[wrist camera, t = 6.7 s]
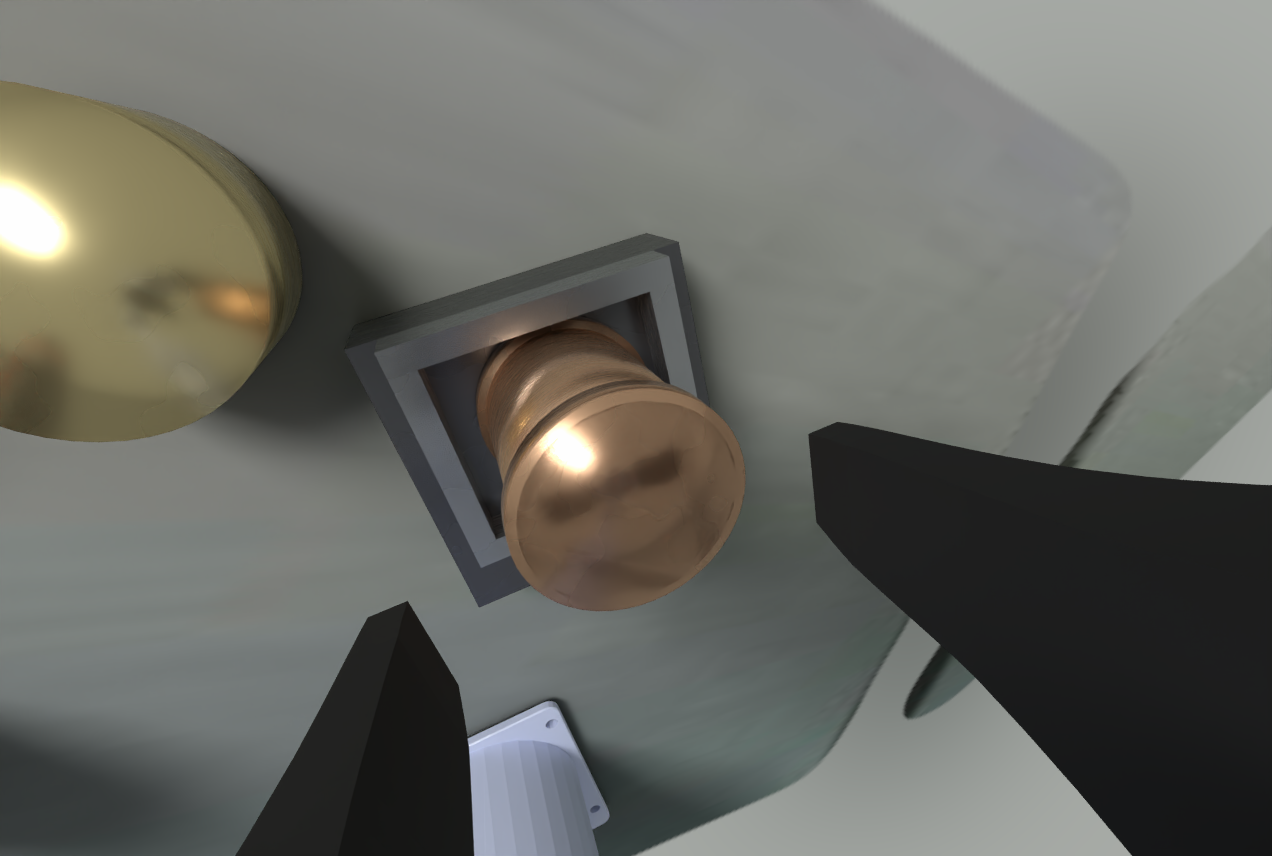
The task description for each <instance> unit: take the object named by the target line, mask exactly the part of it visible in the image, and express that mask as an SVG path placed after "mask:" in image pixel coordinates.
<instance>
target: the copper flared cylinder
mask: <svg viewBox="0 0 1272 856" xmlns="http://www.w3.org/2000/svg"><path fill="white" fill-rule="evenodd" d="M476 411H477V418H478V422H479V426H480V430H481V433H482V437H483V439H484V441H485V443H486V446H487V447H488V449H489V450H490V452H491V453H492V455H493V456H494V457H495V458H496V460H497V463H498V467H499V471H500V474H501V478H502V482H503V489H502V495H501V514H502V523H503V527H504V532H505V536H506V540H507V544H508V547H509V551H510V554H511V557H512V559H513V561H514V563H515V565H516V567H517V569H518V570H519V571H520V573H521V574H522V576H523V577H524V579H525V580H526V581H527V582H528V583H529V584H530V585H531V586H532V587H533V588H534V589H536V590H537V591H539V592H540V593H541V594H543V595H544V596H546V597H547V598H549V599H551V600H553V601H555V602H557V603H560V604H563V605H565V606H568V607H572V608H577V609H581V610H590V611H613V610H620V609H627V608H631V607H635V606H639V605H642V604H645V603H648V602H651V601H654V600H656V599H658V598H660V597H662V596H664V595H667V594H668V593H670V592H672V591H674V590H675V589H677V588H679V587H680V586H682V585H683V584H685V583H686V582H687V581H689V580H690V579H692V578H693V577H694V576H695V575H696V574H697V573H699V572H700V571H701V570H702V569H703V568H704V567H705V566H706V565H707V564H708V563H709V562H710V561H711V560H712V559H713V558H714V556H715V555H716V554H717V553H718V551H719V550H720V549H721V547H722V546H723V545H724V543H725V541H726V540H727V538H728V537H729V535H730V533H731V531H732V529H733V527H734V525H735V523H736V521H737V518H738V515H739V512H740V510H741V506H742V502H743V498H744V491H745V466H744V460H743V455H742V452H741V449H740V446H739V443H738V441H737V439H736V437H735V436H734V434H733V432H732V430H731V429H730V428H729V426H728V425H727V424H726V422H725V421H724V420H723V419H722V418H721V417H720V416H719V415H718V414H717V413H716V412H715V411H713V410H712V409H711V408H710V407H708V406H707V405H706V404H705V403H703V402H702V401H701V400H700V399H698V398H697V397H695V396H694V395H692V394H691V393H689V392H687V391H685V390H683V389H681V388H679V387H677V386H673V385H670V384H667V383H664V382H663V381H662V380H661V379H660V378H659V377H657V376H656V375H655V374H654V373H653V372H652V371H650V370H649V369H648V368H647V367H646V366H645V364H644V362H643V360H642V359H641V357H640V355H639V354H638V352H637V351H636V350H635V349H634V347H633V346H632V345H631V344H630V343H629V342H628V341H627V340H626V339H625V338H623V337H622V336H621V335H620V334H618V333H617V332H616V331H614V330H613V329H611V328H610V327H608V326H606V325H604V324H602V323H600V322H598V321H595V320H592V319H589V318H585V317H580V316H576V317H573V318H570V319H567V320H564V321H561V322H558V323H555V324H552V325H549V326H547V327H544V328H541V329H538V330H535V331H532V332H529V333H526V334H523V335H520V336H517V337H514V338H511V339H508V340H505V341H503V342H502V343H501V344H500V345H499V346H498V347H497V348H496V349H495V350H494V352H493V353H492V354H491V356H490V358H489V359H488V361H487V362H486V364H485V366H484V368H483V370H482V373H481V376H480V379H479V382H478V387H477V392H476Z"/></svg>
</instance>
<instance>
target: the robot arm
mask: <svg viewBox="0 0 1272 856" xmlns="http://www.w3.org/2000/svg"><path fill="white" fill-rule="evenodd" d="M808 435H809V446H810V457H811V467H812V478H813V489H814V500H815V510H816V521H817V524H818V525H819V526H820V527H821V528H822V530H823V531H824V532H825V533H826V534H827V536H828V537H829V538H830V539H831V541H832V542H833V543H834V544H835V545H836V547H837V548H838V549H839V550H840V551H841V552H842V553H843V555H844V556H845V557H846V558H847V559H848V560H849V561H850V562H851V564H852V565H853V566H854V567H855V568H857V569H858V570H859V571H860V572H861V573H862V574H863V575H864V576H865V577H866V578H867V579H868V580H869V581H871V582H872V583H873V584H874V585H875V586H876V587H877V588H878V589H879V590H880V591H881V592H883V593H884V594H885V595H886V596H887V597H888V598H889V599H890V600H891V601H892V602H894V603H895V604H896V605H897V606H898V607H899V608H900V609H901V610H903V611H904V612H905V613H906V614H907V615H908V616H909V617H910V618H911V619H913V620H914V621H915V622H916V623H917V624H918V625H919V626H920V627H922V628H923V629H924V630H925V631H926V632H927V633H928V634H929V635H930V636H931V637H933V638H934V639H935V640H936V641H937V642H938V643H939V644H940V645H941V646H943V647H944V648H945V649H946V650H947V651H948V652H949V653H950V654H951V655H953V656H954V657H955V658H956V659H957V660H958V661H959V662H960V663H961V664H962V665H963V666H964V667H965V668H966V669H967V670H968V671H969V672H970V673H971V674H972V675H973V676H974V677H975V678H976V679H977V680H978V681H979V682H980V683H981V684H982V685H983V686H984V687H985V688H986V689H987V690H988V691H989V693H990V694H991V695H992V696H993V697H994V698H995V699H996V700H997V701H998V702H999V703H1000V704H1001V705H1002V707H1004V709H1005V710H1006V711H1007V712H1008V713H1009V714H1010V715H1011V716H1012V717H1013V718H1014V719H1015V720H1016V722H1017V723H1018V724H1019V725H1020V726H1021V727H1022V728H1023V729H1024V730H1025V731H1026V733H1027V734H1028V735H1029V736H1030V737H1031V738H1032V739H1033V740H1034V742H1035V743H1036V744H1037V745H1038V746H1039V747H1040V748H1041V750H1042V751H1043V752H1044V753H1045V754H1046V755H1047V756H1048V757H1049V759H1050V760H1051V761H1052V762H1053V763H1054V764H1055V765H1056V767H1057V768H1058V769H1059V770H1060V771H1061V772H1062V773H1063V775H1064V776H1065V777H1066V778H1067V779H1068V780H1069V781H1070V782H1071V784H1072V785H1073V786H1074V787H1075V788H1076V789H1077V790H1078V792H1079V793H1080V794H1081V795H1082V796H1083V798H1084V799H1085V800H1086V801H1087V802H1088V804H1089V805H1090V806H1091V807H1092V808H1093V810H1094V811H1095V812H1096V813H1097V814H1098V815H1099V817H1100V818H1101V819H1102V820H1103V821H1104V823H1105V824H1106V825H1107V826H1108V828H1109V829H1110V830H1111V831H1112V832H1113V833H1114V835H1115V836H1116V837H1117V838H1118V839H1119V841H1120V842H1121V843H1122V844H1123V845H1124V847H1125V848H1126V849H1127V850H1128V851H1129V853H1130V854H1131V855H1132V856H1272V485H1251V484H1237V483H1221V482H1205V481H1190V480H1178V479H1166V478H1155V477H1145V476H1136V475H1128V474H1119V473H1111V472H1102V471H1094V470H1085V469H1078V468H1072V467H1065V466H1058V465H1051V464H1046V463H1040V462H1034V461H1029V460H1023V459H1017V458H1011V457H1005V456H1000V455H995V454H990V453H985V452H980V451H975V450H970V449H965V448H961V447H956V446H951V445H947V444H942V443H938V442H933V441H929V440H924V439H920V438H915V437H911V436H906V435H902V434H897V433H893V432H888V431H884V430H879V429H874V428H869V427H864V426H859V425H854V424H848V423H841V422H836V423H834V424H831V425H829V426H827V427H824V428H822V429H819V430H817V431H815V432H812V433H810V434H808ZM609 816H610V814H609V810H608V807H607V805H606V803H605V801H604V799H603V797H602V795H601V793H600V791H599V789H598V787H597V785H596V783H595V781H594V779H593V776H592V774H591V772H590V770H589V768H588V766H587V764H586V762H585V760H584V758H583V756H582V754H581V752H580V750H579V748H578V746H577V744H576V741H575V739H574V737H573V735H572V733H571V731H570V729H569V727H568V725H567V723H566V721H565V719H564V717H563V715H562V713H561V711H560V709H559V706H558V705H557V703H556V702H553V701H546V702H543V703H541V704H539V705H537V706H535V707H533V708H531V709H529V710H527V711H524V712H522V713H520V714H518V715H516V716H514V717H512V718H510V719H508V720H506V721H503V722H501V723H499V724H497V725H495V726H493V727H491V728H489V729H487V730H485V731H482V732H480V733H478V734H476V735H474V736H472V737H470V738H467V731H466V725H465V719H464V713H463V708H462V702H461V697H460V691H459V686H458V684H457V682H456V680H455V679H454V677H453V675H452V674H451V672H450V670H449V669H448V667H447V665H446V664H445V662H444V660H443V659H442V657H441V655H440V654H439V652H438V650H437V649H436V647H435V646H434V644H433V642H432V641H431V639H430V637H429V636H428V634H427V632H426V631H425V629H424V627H423V626H422V624H421V622H420V621H419V619H418V617H417V616H416V614H415V612H414V611H413V609H412V607H411V606H410V604H409V602H408V601H406V602H404V603H402V604H399V605H397V606H394V607H392V608H390V609H387V610H385V611H382V612H380V613H378V614H375V615H373V616H370V617H368V618H367V620H366V622H365V624H364V626H363V627H362V629H361V631H360V633H359V635H358V637H357V639H356V641H355V643H354V645H353V647H352V648H351V650H350V652H349V654H348V656H347V658H346V660H345V662H344V664H343V666H342V668H341V670H340V672H339V674H338V675H337V677H336V679H335V681H334V683H333V685H332V687H331V689H330V691H329V693H328V695H327V697H326V699H325V701H324V702H323V704H322V706H321V708H320V710H319V712H318V714H317V716H316V717H315V719H314V721H313V723H312V725H311V727H310V729H309V730H308V732H307V734H306V736H305V738H304V740H303V741H302V743H301V745H300V747H299V749H298V751H297V753H296V754H295V756H294V758H293V760H292V761H291V763H290V765H289V766H288V768H287V770H286V772H285V773H284V775H283V777H282V778H281V780H280V782H279V783H278V785H277V787H276V789H275V790H274V792H273V794H272V795H271V797H270V799H269V800H268V802H267V804H266V806H265V807H264V809H263V811H262V812H261V814H260V816H259V817H258V819H257V821H256V823H255V824H254V826H253V828H252V829H251V831H250V833H249V834H248V836H247V838H246V840H245V841H244V843H243V844H242V846H241V848H240V849H239V851H238V852H237V854H236V856H599V853H598V849H597V845H596V842H595V838H594V834H593V829H595V828H596V827H598V826H600V825H602V824H604V823H605V822H606V821H607V820H608V819H609Z"/></svg>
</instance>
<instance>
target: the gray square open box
mask: <svg viewBox="0 0 1272 856" xmlns="http://www.w3.org/2000/svg"><path fill="white" fill-rule="evenodd" d="M576 316H580V317H585V318H589V319H592V320H595V321H598V322H600V323H602V324H604V325H606V326H608V327H610V328H611V329H613V330H614V331H616V332H617V333H618V334H620V335H621V336H622V337H623V338H625V339H626V340H627V341H628V342H629V343H630V344H631V345H632V346H633V347H634V349H635V350H636V351H637V352H638V354H639V355H640V357H641V359H642V360H643V362H644V364H645V366H646V367H647V368H648V369H649V370H650V371H652V372H653V373H654V374H655V375H656V376H657V377H659V378H660V379H661V380H662V381H663V382H664V383H667V384H670V385H673V386H677V387H679V388H681V389H683V390H685V391H687V392H689V393H691V394H692V395H694V396H695V397H697V398H698V399H700V400H701V401H702V402H703V403H705V404H706V405H707V406H708V407H710V404H709V399H708V394H707V389H706V383H705V378H704V373H703V368H702V362H701V357H700V352H699V347H698V341H697V336H696V331H695V326H694V320H693V315H692V310H691V305H690V299H689V294H688V289H687V284H686V278H685V273H684V268H683V263H682V257H681V252H680V247H679V242H677V241H674V240H670V239H666V238H663V237H659V236H655V235H651V234H648V233H646V234H642V235H639V236H636V237H633V238H630V239H627V240H623V241H620V242H617V243H614V244H611V245H608V246H604V247H601V248H598V249H595V250H592V251H589V252H585V253H582V254H579V255H576V256H573V257H570V258H567V259H563V260H560V261H557V262H554V263H551V264H548V265H544V266H541V267H538V268H535V269H532V270H529V271H525V272H522V273H519V274H516V275H513V276H510V277H506V278H503V279H500V280H497V281H494V282H491V283H487V284H484V285H481V286H478V287H475V288H472V289H468V290H465V291H462V292H459V293H456V294H453V295H449V296H446V297H443V298H440V299H437V300H434V301H431V302H427V303H424V304H421V305H418V306H415V307H412V308H408V309H405V310H402V311H399V312H396V313H393V314H389V315H386V316H383V317H380V318H377V319H374V320H370V321H367V322H364V323H361V324H358V325H355V326H354V328H353V330H352V333H351V335H350V337H349V340H348V342H347V344H346V347H345V349H344V351H345V353H346V354H347V356H348V358H349V360H350V362H351V364H352V366H353V368H354V370H355V372H356V373H357V375H358V377H359V379H360V381H361V383H362V385H363V387H364V389H365V391H366V393H367V394H368V396H369V398H370V400H371V402H372V404H373V406H374V408H375V410H376V412H377V414H378V415H379V417H380V419H381V421H382V423H383V425H384V427H385V429H386V431H387V433H388V435H389V436H390V438H391V440H392V442H393V444H394V446H395V448H396V450H397V452H398V454H399V455H400V457H401V459H402V461H403V463H404V465H405V467H406V469H407V471H408V473H409V475H410V476H411V478H412V480H413V482H414V484H415V486H416V488H417V490H418V492H419V494H420V496H421V497H422V499H423V501H424V503H425V505H426V507H427V509H428V511H429V513H430V515H431V516H432V518H433V520H434V522H435V524H436V526H437V528H438V530H439V532H440V534H441V536H442V537H443V539H444V541H445V543H446V545H447V547H448V549H449V551H450V553H451V555H452V557H453V558H454V560H455V562H456V564H457V566H458V568H459V570H460V572H461V574H462V576H463V577H464V579H465V581H466V583H467V585H468V587H469V589H470V591H471V593H472V595H473V597H474V598H475V600H476V602H477V604H478V606H479V607H482V606H484V605H486V604H489V603H491V602H493V601H495V600H498V599H500V598H502V597H505V596H507V595H509V594H512V593H514V592H516V591H519V590H521V589H523V588H526V587H528V586H530V584H529V583H528V582H527V581H526V580H525V579H524V577H523V576H522V574H521V573H520V571H519V570H518V569H517V567H516V565H515V563H514V561H513V559H512V557H511V554H510V551H509V547H508V544H507V540H506V536H505V532H504V527H503V523H502V514H501V495H502V489H503V482H502V478H501V474H500V471H499V467H498V463H497V460H496V458H495V457H494V456H493V455H492V453H491V452H490V450H489V449H488V447H487V446H486V443H485V441H484V439H483V437H482V433H481V430H480V426H479V422H478V418H477V411H476V392H477V387H478V382H479V379H480V376H481V373H482V370H483V368H484V366H485V364H486V362H487V361H488V359H489V358H490V356H491V354H492V353H493V352H494V350H495V349H496V348H497V347H498V346H499V345H500V344H501V343H502V342H503V341H505V340H508V339H511V338H514V337H517V336H520V335H523V334H526V333H529V332H532V331H535V330H538V329H541V328H544V327H547V326H549V325H552V324H555V323H558V322H561V321H564V320H567V319H570V318H573V317H576Z"/></svg>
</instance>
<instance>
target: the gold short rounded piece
mask: <svg viewBox="0 0 1272 856" xmlns="http://www.w3.org/2000/svg"><path fill="white" fill-rule="evenodd" d="M301 290H302V265H301V258H300V252H299V249H298V245H297V242H296V238H295V235H294V233H293V231H292V228H291V226H290V224H289V222H288V219H287V218H286V216H285V214H284V212H283V211H282V209H281V207H280V206H279V204H278V202H277V201H276V200H275V198H274V197H273V196H272V194H271V193H270V192H269V190H268V189H267V188H266V186H265V185H264V184H263V183H262V182H261V181H260V180H259V179H258V178H257V176H256V175H255V174H254V173H253V172H252V171H251V170H250V169H249V168H248V167H246V166H245V165H244V164H243V163H242V162H241V161H240V160H238V159H237V158H236V157H235V156H234V155H233V154H231V153H230V152H228V151H227V150H226V149H224V148H223V147H221V146H220V145H219V144H217V143H216V142H214V141H213V140H211V139H209V138H207V137H206V136H204V135H202V134H200V133H199V132H197V131H195V130H193V129H191V128H189V127H186V126H184V125H182V124H180V123H178V122H175V121H173V120H171V119H168V118H165V117H162V116H159V115H156V114H153V113H150V112H145V111H141V110H136V109H132V108H128V107H123V106H119V105H114V104H110V103H105V102H101V101H96V100H92V99H88V98H83V97H79V96H74V95H70V94H65V93H61V92H56V91H52V90H47V89H43V88H38V87H34V86H29V85H25V84H20V83H15V82H6V81H0V426H1V427H4V428H7V429H10V430H14V431H17V432H22V433H26V434H31V435H36V436H40V437H45V438H53V439H60V440H68V441H83V442H111V441H127V440H133V439H140V438H146V437H151V436H155V435H159V434H163V433H166V432H170V431H173V430H176V429H178V428H181V427H183V426H186V425H189V424H191V423H193V422H195V421H197V420H199V419H201V418H202V417H204V416H206V415H208V414H210V413H211V412H213V411H214V410H215V409H217V408H218V407H219V406H221V405H222V404H224V403H225V402H226V401H227V400H228V399H229V398H230V397H231V396H232V395H233V394H234V393H235V392H236V391H237V390H238V389H239V388H240V387H241V386H242V385H243V384H244V383H245V381H246V380H247V379H248V378H249V377H250V375H251V374H252V373H253V372H254V371H255V369H256V368H257V367H258V366H259V365H260V363H261V362H262V361H263V360H264V358H265V357H266V356H267V355H268V354H269V352H270V351H271V350H272V349H273V348H274V346H275V345H276V344H277V343H278V342H279V340H280V339H281V338H282V336H283V335H284V334H285V332H286V331H287V329H288V328H289V326H290V324H291V322H292V320H293V318H294V316H295V314H296V311H297V308H298V305H299V302H300V296H301Z"/></svg>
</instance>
